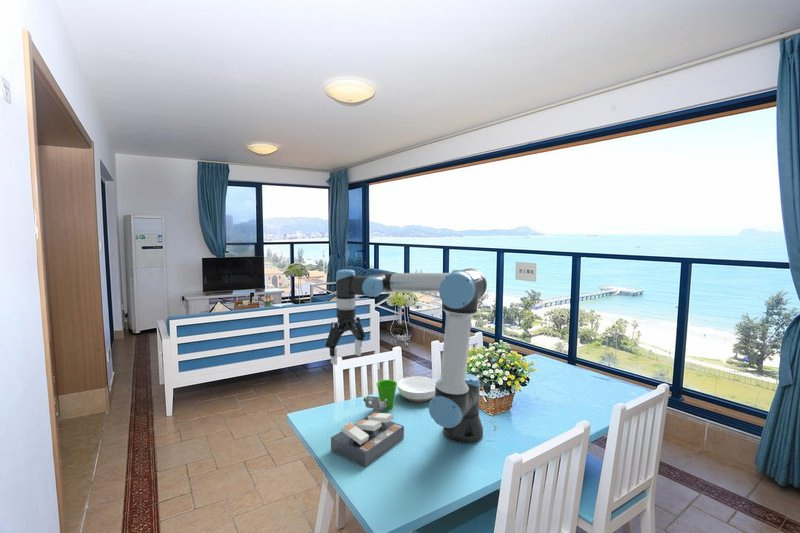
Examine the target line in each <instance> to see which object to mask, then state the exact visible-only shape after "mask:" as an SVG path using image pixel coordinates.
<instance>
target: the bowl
mask: <svg viewBox="0 0 800 533" xmlns="http://www.w3.org/2000/svg"><path fill="white" fill-rule="evenodd" d="M437 381H438V380H436V379H433V378H430V377H427V376H421V375H420V376H415V375H414V376H407V377H403V378H401V379H399V380H398V382H397V386H396V387H397V390H398V393H399V394H400V395H401V396H402V397H403V398H404V399H406V400H409V401H410V402H415V403H422V402H426V401H429V400H431V399H433V398H434V396H435V385H436V382H437Z"/></svg>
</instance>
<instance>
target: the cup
mask: <svg viewBox="0 0 800 533" xmlns="http://www.w3.org/2000/svg"><path fill="white" fill-rule="evenodd" d="M397 384H398V382H397V381H396V380H392V379H382V380H379V381H377V382H376V386H377V392H378V397H379V398H380V400H381V401H382V402H384V401H385V399H387V400H389V404H387V406H386V408H385V409H382V410H383V411H391V410H392V409H393V406H394V402H395V395H396V390H397V387H398V386H397ZM382 406H385V405H382Z"/></svg>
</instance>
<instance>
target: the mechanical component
mask: <svg viewBox="0 0 800 533" xmlns="http://www.w3.org/2000/svg"><path fill="white" fill-rule="evenodd" d="M363 402H364V404H365V408H367V409H373V410H372V412H373V413H380V410H383V409H385V408H386V406H387V404H389V400H387V399H385V401H384V402H382V401H381V400H380V398H379V396H371V395H366V397H363ZM382 405H385V406H382Z"/></svg>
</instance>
